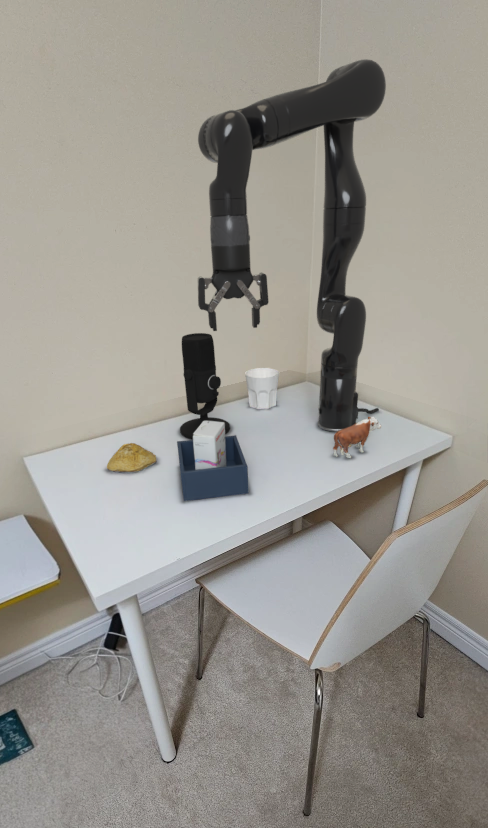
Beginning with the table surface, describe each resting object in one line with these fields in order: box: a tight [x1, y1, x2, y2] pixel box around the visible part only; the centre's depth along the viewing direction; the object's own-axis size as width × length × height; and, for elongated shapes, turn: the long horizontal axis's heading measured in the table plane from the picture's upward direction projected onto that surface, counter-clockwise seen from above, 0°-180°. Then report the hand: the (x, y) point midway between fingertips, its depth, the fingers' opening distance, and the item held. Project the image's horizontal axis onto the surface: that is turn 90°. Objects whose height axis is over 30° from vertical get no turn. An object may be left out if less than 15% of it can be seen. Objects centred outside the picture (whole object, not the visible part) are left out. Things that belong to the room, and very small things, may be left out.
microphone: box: [179, 332, 231, 440], centre depth 124 cm, size 14×14×25 cm
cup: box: [244, 367, 280, 410], centre depth 143 cm, size 10×10×10 cm
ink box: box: [193, 421, 226, 470], centre depth 103 cm, size 9×5×12 cm, turn 169°
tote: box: [176, 434, 250, 502], centre depth 104 cm, size 14×16×7 cm
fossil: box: [106, 442, 158, 473], centre depth 113 cm, size 11×6×10 cm
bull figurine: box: [332, 415, 382, 459], centre depth 113 cm, size 4×13×8 cm, turn 121°
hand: (234, 328), depth 100 cm, fingers open, 8 cm apart
